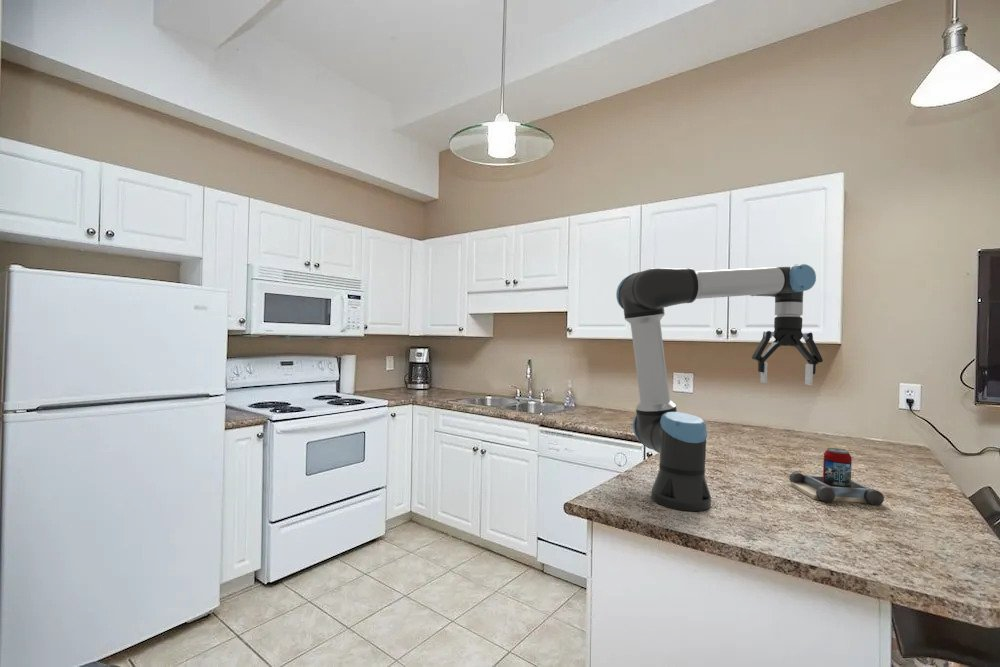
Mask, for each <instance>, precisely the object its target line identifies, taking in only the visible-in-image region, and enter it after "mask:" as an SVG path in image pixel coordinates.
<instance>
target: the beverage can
mask: <svg viewBox="0 0 1000 667" xmlns="http://www.w3.org/2000/svg"><path fill="white" fill-rule="evenodd" d="M852 459H853V458H852V456H851V454H850V451H849V450H846V449H843V448H836V447H827V448H826V450H825V451H824V453H823V461H822V462H823V466H822V470H823V471H822V476H823V483H825V484H827V485H829V486H831V487H848V488H851V480H852V464H853V463H852Z"/></svg>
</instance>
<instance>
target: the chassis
mask: <svg viewBox="0 0 1000 667" xmlns="http://www.w3.org/2000/svg"><path fill="white" fill-rule="evenodd" d="M789 481H790V487H792V488H793V489H795V490H797V491H799V492H801V493H802V494H804V495H806V496H807V497H809V498H811V499H812V500H817V501H822V502H825V503H832V502H833V501H834V502H836V501H837V502H847V503H849V502H850V503H851V502H852V503H865V504H866V503H868V504H872V505H873V506H880V505H881V504H883V503H884V501H885V496H884V494H883V493H882V492H881V491H879V490H877V489H874V488H870V487H868V486H865V485H863V484H861V483H859V482H857V481H854V480H852V479H851V488H848V487H831V486H829V485H827V484H825V483H823V475H809V474H802V473H801V472H798V471H793V472H792V473H791V474H790V475H789Z"/></svg>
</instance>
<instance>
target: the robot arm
mask: <svg viewBox="0 0 1000 667" xmlns="http://www.w3.org/2000/svg"><path fill="white" fill-rule="evenodd" d="M816 281H817V274H816V271H815V268H813V267H812V266H811V265H808V264H805V263H803V264H794V265H787V266H776V267H775V266H769V267H767V266H766V267H753V268H750V267H749V268H735V269H734V268H733V269H717V270H714V269H713V270H700V271H698V270H697V271H696V270H695V269H694V268H691V267H686V268H685V267H684V268H678V267H675V268H671V267H666V268H665V267H654V268H653V267H651V268H647V269H645V270H641V271H637V272H633V273H631V274H629V275H628V276H626V277H624V278H623V279H622V280H621V281H620V283H619V284H618V286H617V288H616V296H615V297H616V301H617V304H618V305H619V307H621V309H623V315H624V320H625V321H626V322H627V323H629V325H630V330H631V337H632V344H633V353H634V360H635V370H636V371H635V372H636V378H637V385H638V394H639V403H638V404H637V405H636V407H635V410H636V414H635V417H634V418H633V421H632V430H633V434H634V436H635V438H636V439H637V440H638V442H639V443H640V444H642V445H643V446H644V447H646V448H647V449H649V450H653V451H654V452H657V453H659V465H658V473H657V476H656V478H655V480H654V482H653V485H652V489H651V499H652V500H653V501H654V502H656V503H657V504H659V505H661V506H662V507H663V506H664V507H666V508H669V509H675V510H679V511H685V512H686V511H687V512H704V511H707V510H709V509H710V508H711V506H712V497H711V494H710V490H709V486H708V483H707V480H706V452H707V449H706V448H707V438H708V432H707V423H706V422H705V420H704V419H703V418H700V417H699V416H697V415H694V414H689V413H686V412H681V411H680V412H679V411H677V405H676V403H674V402H673V401H672V400H671V397H670V390H669V381H668V376H667V375H668V374H667V366H666V359H665V358H666V357H665V350H664V349H665V348H664V343H663V342H664V340H663V333H662V327H661V326H662V325H661V320H662V319H663V317H664V316H666V314H665V308H668V307H672V306H677V305H682V304H692V303H694V302H695V301H696V300H698V299H699V300H701V299H712V298H713V299H714V298H729V297H730V298H731V297H741V296H742V297H743V296H751V297H773V298H774V315H775V317H774V318H773V319H774V320H773V321H774V322H773V323H774V324H773V325H774V326H773V328H774V329H773V330H774V331H771V330H765V331H763V333H762V334H763V335H762V338H761V340H760V341H759V344H758V345H757V347H756V349H755V350H754V352H753V354H752V356H751V359H752V360H754V361H757V365H758V366H757V371H758V373H760V378H759V379H760V381H759V382H760V383H761V384H762V383H763V384H768V364H769V363H768V362H767V360H768V358H770V357H771V355H772V354H773V353H775V351H776V350H777V349H778V348H779V347H783V346H785V347H787V346H788V347H794V348H796V349H797V351H798V352H799V353H800V354H801V356H802V357H803V358H804V359H805V360H806V362H807V363H805V365H804V366H805V368H804V370H805V372H804V373H805V374H804V385H807V386H813V378H814V375H815V374H816V372H817V371H816V368H817V367H816V365H818V364H819V363H822V362H823V361H824V359H823V358H822V357H823V356H821V354H820V351H819V349H818V347H817V345H816V343H815V340H814V337H813V336H814V335H813V332H811V331H809V332H804V333H803V331H802V329H803V318H802V317H801V316H803V315H804V314H803V313H804V312H803V311H804V292H805V291H809V290H810V289H812V288H813V287H814V286H815V284H816ZM772 338H774V340H773V341H772V342H771V343H770V345H769V346H768V344H769V342H770V340H771V339H772ZM802 338H803V340H804V341H805V344H806V346H807V348H808V349H807V348H806V347H805V346H804V343H803V342H802V341H801V340H802ZM767 346H768V348H767ZM765 349H766V350H765Z"/></svg>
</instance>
